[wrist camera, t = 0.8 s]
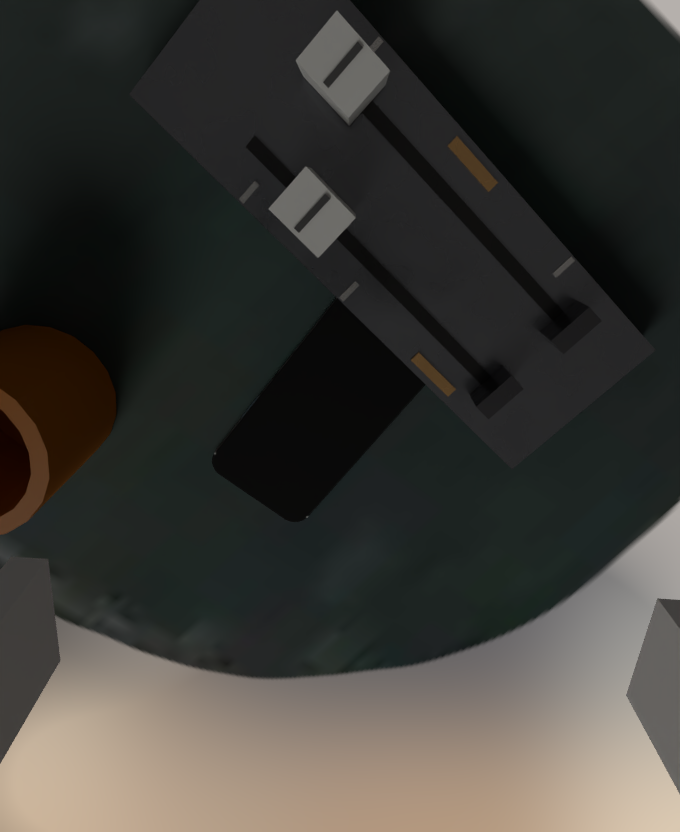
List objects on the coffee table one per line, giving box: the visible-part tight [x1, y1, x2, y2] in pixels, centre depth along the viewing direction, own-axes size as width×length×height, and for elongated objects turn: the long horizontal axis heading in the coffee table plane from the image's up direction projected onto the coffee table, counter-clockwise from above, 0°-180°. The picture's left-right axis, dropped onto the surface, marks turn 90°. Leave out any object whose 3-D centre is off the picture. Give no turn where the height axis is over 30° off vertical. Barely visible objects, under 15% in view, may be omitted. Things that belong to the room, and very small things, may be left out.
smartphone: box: [212, 298, 426, 522], centre depth 37 cm, size 7×1×15 cm
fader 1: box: [296, 11, 390, 126], centre depth 27 cm, size 3×2×4 cm
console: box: [129, 0, 655, 469], centre depth 31 cm, size 28×10×4 cm, turn 46°
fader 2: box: [269, 167, 356, 258], centre depth 29 cm, size 3×2×4 cm
